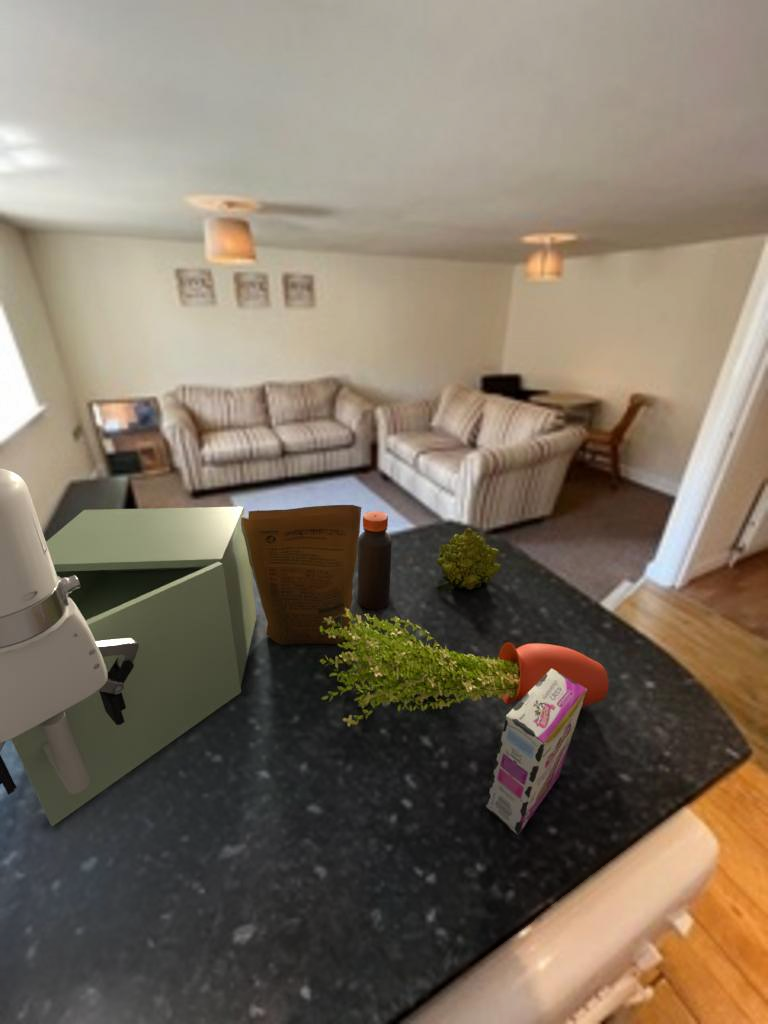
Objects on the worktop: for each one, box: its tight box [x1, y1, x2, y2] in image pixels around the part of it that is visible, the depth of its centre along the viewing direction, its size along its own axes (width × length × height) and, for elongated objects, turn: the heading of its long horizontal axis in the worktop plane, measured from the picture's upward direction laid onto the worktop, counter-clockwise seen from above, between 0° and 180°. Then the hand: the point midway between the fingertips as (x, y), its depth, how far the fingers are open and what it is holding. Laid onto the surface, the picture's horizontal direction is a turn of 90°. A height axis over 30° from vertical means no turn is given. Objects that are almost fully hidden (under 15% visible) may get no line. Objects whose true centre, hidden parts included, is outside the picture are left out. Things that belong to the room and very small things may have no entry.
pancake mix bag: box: [241, 504, 362, 646], centre depth 78 cm, size 7×19×28 cm, turn 93°
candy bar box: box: [485, 669, 587, 836], centre depth 55 cm, size 11×5×16 cm, turn 135°
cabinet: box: [46, 506, 257, 687], centre depth 74 cm, size 18×26×24 cm
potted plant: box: [319, 608, 610, 728], centre depth 72 cm, size 19×14×45 cm
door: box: [10, 562, 242, 827], centre depth 56 cm, size 8×26×24 cm, turn 142°
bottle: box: [357, 510, 393, 610], centre depth 91 cm, size 7×7×20 cm
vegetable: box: [435, 527, 502, 592], centre depth 101 cm, size 15×16×15 cm
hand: (65, 747), depth 46 cm, fingers open, 9 cm apart
